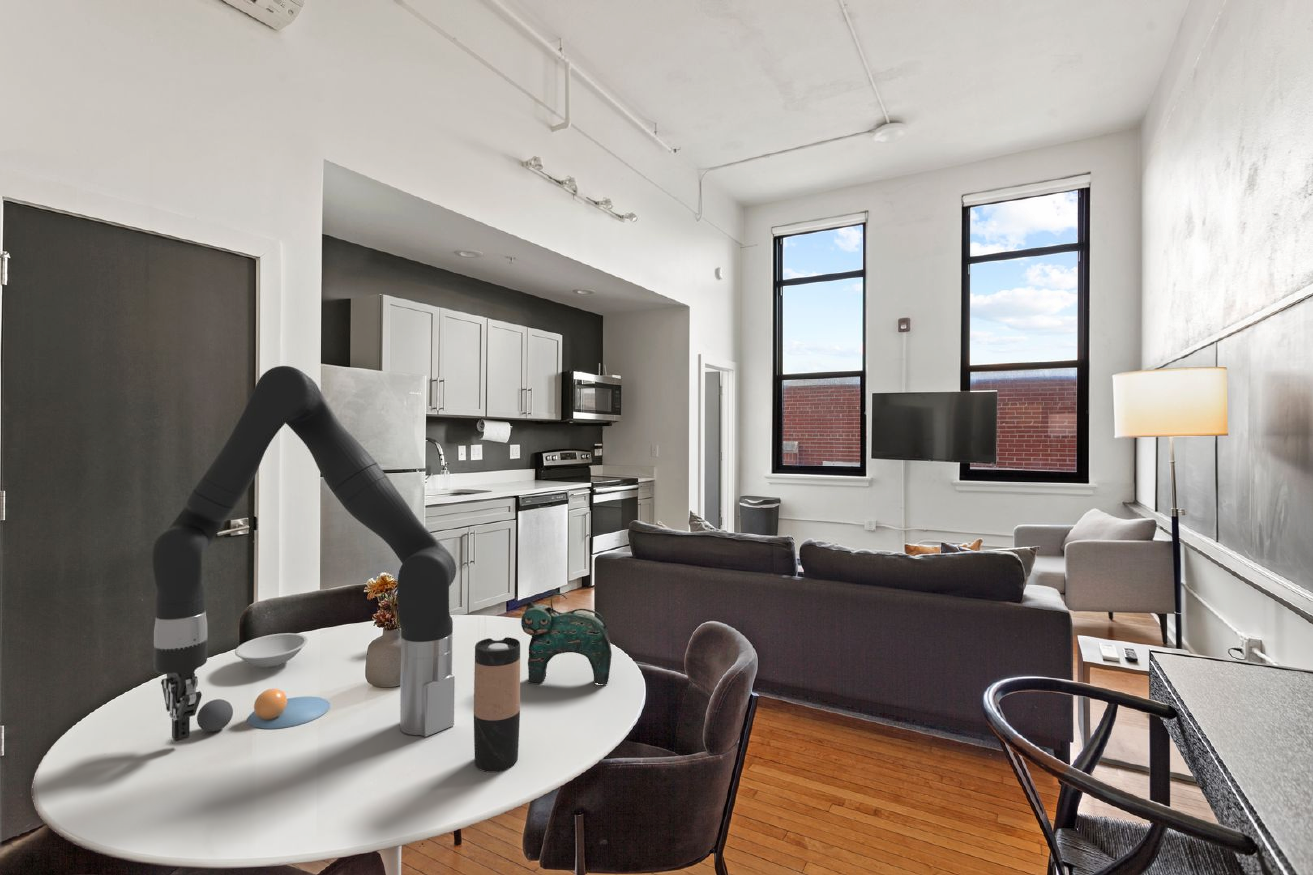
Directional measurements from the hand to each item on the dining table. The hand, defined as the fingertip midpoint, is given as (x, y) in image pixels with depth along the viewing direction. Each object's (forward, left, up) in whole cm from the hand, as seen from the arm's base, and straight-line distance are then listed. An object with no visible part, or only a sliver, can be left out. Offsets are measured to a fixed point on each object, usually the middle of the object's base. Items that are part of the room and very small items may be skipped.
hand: (180, 738), depth 113 cm
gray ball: (+3, -6, +1) cm, 7 cm away
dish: (+29, -26, -2) cm, 39 cm away
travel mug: (-46, -32, -2) cm, 56 cm away
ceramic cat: (-30, -64, -2) cm, 71 cm away
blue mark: (0, -18, -2) cm, 18 cm away
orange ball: (0, -14, +1) cm, 15 cm away
